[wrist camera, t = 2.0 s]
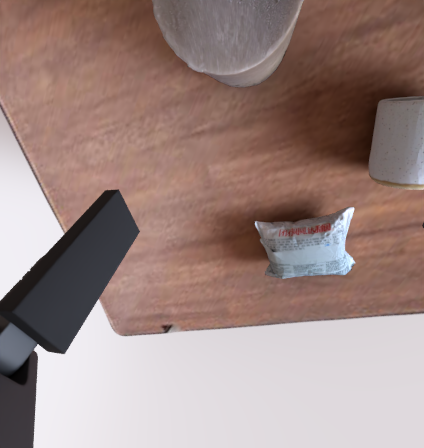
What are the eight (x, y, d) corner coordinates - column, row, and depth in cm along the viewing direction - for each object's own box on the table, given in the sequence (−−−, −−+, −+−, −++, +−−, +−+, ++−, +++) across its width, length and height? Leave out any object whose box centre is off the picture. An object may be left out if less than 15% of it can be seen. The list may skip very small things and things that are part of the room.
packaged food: (255, 214, 35) (254, 230, 31) (349, 201, 32) (363, 217, 28) (265, 266, 39) (265, 287, 34) (351, 259, 35) (363, 281, 31)
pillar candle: (306, -6, 25) (355, -137, 11) (268, 100, 29) (269, 95, 16) (213, -36, 25) (154, -197, 12) (189, 73, 30) (125, 46, 16)
